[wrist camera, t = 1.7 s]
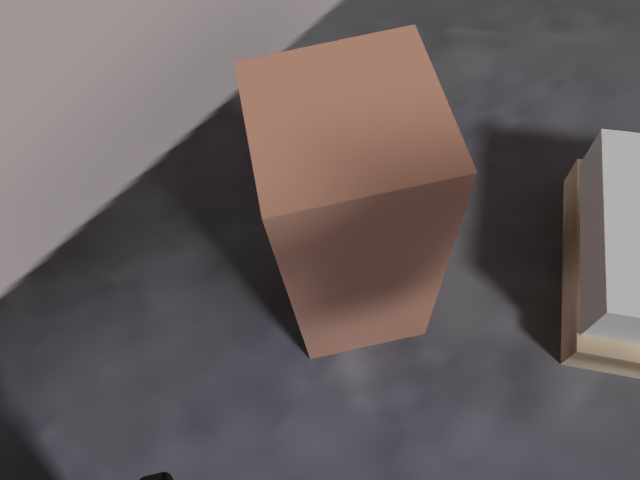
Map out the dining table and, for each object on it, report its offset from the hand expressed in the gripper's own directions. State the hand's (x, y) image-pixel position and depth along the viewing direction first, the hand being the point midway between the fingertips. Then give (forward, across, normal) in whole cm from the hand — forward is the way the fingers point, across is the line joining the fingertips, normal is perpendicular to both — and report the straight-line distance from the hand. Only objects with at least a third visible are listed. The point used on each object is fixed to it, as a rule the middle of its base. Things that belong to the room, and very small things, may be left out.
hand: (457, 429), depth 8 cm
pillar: (+15, 0, +4) cm, 16 cm away
